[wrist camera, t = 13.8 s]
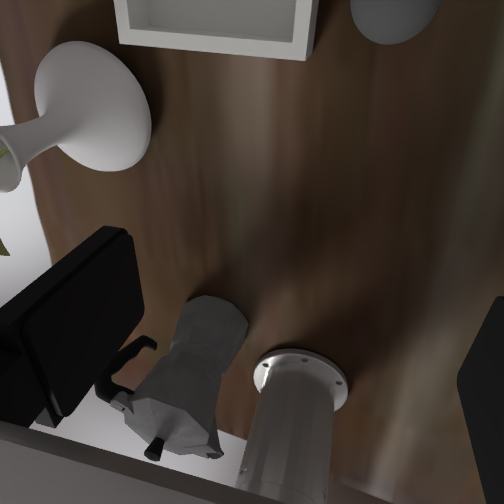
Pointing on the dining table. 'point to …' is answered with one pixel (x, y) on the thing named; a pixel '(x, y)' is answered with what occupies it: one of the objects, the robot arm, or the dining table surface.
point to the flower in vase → (79, 115)
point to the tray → (221, 26)
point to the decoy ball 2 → (392, 18)
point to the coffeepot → (180, 381)
